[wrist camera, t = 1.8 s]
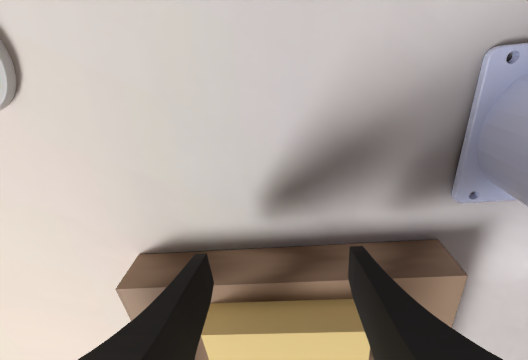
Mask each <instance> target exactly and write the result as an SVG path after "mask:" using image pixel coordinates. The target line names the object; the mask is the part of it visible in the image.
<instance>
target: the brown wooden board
mask: <svg viewBox="0 0 528 360" xmlns="http://www.w3.org/2000/svg"><path fill="white" fill-rule="evenodd" d="M350 246H363V247H364V248H365V249H366V250H367V251H368V253H369V254H370V255H371V256H372V257H373V258H374V260H375V261H376V262H377V263H378V264H379V265H380V266H381V267H382V268H383V270H384V271H385V272H386V273H387V274H388V275H389V276H390V277H391V278H392V279H393V280H394V281H395V282H396V283H397V284H398V285H399V286H400V287H401V288H402V289H403V290H405V291H406V292H407V293H408V294H409V295H410V296H411V297H412V298H413V299H414V300H416V301H417V302H418V303H419V304H420V305H422V306H423V307H424V308H425V309H426V310H428V311H429V312H430V313H432V314H433V315H434V316H435V317H437V318H438V319H440V320H441V321H442V322H444V323H445V324H447V325H448V326H450V327H452V324H453V321H454V318H455V315H456V312H457V309H458V305H459V302H460V299H461V296H462V293H463V290H464V287H465V283H466V280H467V277H468V275H467V274H466V273H465V271H464V270H463V269H462V268H461V267H460V265H459V264H458V263H457V262H456V261H455V259H454V258H453V257H452V256H451V255H450V253H449V252H448V251H447V250H446V249H445V247H444V246H443V245H442V244H441V243H440V241H439V240H438V239H436V240H416V241H396V242H376V243H357V244H337V245H317V246H298V247H278V248H258V249H238V250H219V251H199V252H179V253H160V254H140V255H138V257H137V258H136V260H135V261H134V263H133V264H132V266H131V267H130V269H129V270H128V272H127V273H126V274H125V276H124V277H123V279H122V280H121V282H120V283H119V285H118V286H117V288H116V291H117V293H118V295H119V297H120V299H121V301H122V303H123V305H124V307H125V309H126V311H127V313H128V315H129V317H130V319H131V321H132V320H133V319H134V318H136V317H137V316H138V315H139V314H140V313H141V312H142V311H143V310H145V309H146V308H147V307H148V306H149V305H150V304H151V303H152V302H153V301H154V300H155V299H156V298H157V297H158V296H159V295H160V294H161V293H162V292H163V290H164V289H165V288H166V287H167V286H168V285H169V284H170V283H171V282H172V281H173V279H174V278H175V277H176V276H177V275H178V274H179V272H180V271H181V270H182V269H183V268H184V267H185V265H186V264H187V263H188V262H189V261H190V259H191V258H192V257H193V256H194V255H195V254H204V253H207V256H208V260H209V264H210V268H211V272H212V276H213V280H214V286H213V293H212V298H211V303H239V302H270V301H300V300H331V299H353V297H352V292H351V288H350V284H349V279H348V267H349V247H350ZM195 360H209V358H208V355H207V352H206V349H205V346H204V343H203V340H202V337H200V341H199V344H198V347H197V351H196V355H195ZM369 360H374V358H373V355H372V351H371V348H370V353H369Z"/></svg>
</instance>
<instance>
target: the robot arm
mask: <svg viewBox="0 0 528 360" xmlns="http://www.w3.org/2000/svg"><path fill="white" fill-rule="evenodd" d="M510 52H512V58H511V60H510V61H508V62H507V61H506V58H507V56H508V54H509V53H510ZM474 191H475V192H474ZM472 192H474V193H473V194H472V195H470V193H472ZM469 195H470V196H469ZM451 196H452V198H453V199H454V200H455V201H456V202H458V203H473V202H489V201H506V200H519V201H520V202H522V203H523V204H525V205H526V206H528V43H520V44H511V45H502V46H496V47H493V48H492V49H490V50H489V51H488V52H487V53H486V54H485V56H484V59H483V62H482V66H481V71H480V75H479V79H478V83H477V88H476V92H475V96H474V100H473V104H472V109H471V113H470V117H469V121H468V126H467V130H466V134H465V138H464V143H463V147H462V151H461V155H460V160H459V164H458V168H457V172H456V176H455V181H454V185H453V189H452V193H451ZM348 279H349V284H350V288H351V292H352V297H353V300H354V303H355V305H356V308H357V311H358V314H359V317H360V320H361V322H362V325H363V328H364V331H365V334H366V336H367V339H368V342H369V345H370V348H371V351H372V355H373V358H374V360H503V359H501V358H499V357H497V356H496V355H494V354H492V353H490V352H488V351H487V350H485V349H483V348H482V347H480V346H478V345H477V344H475V343H474V342H472V341H470V340H469V339H467V338H466V337H464V336H463V335H461V334H460V333H458V332H457V331H455V330H454V329H452V328H451V327H450V326H448V325H447V324H445V323H444V322H442V321H441V320H440V319H438V318H437V317H435V316H434V315H433V314H432V313H430V312H429V311H428V310H426V309H425V308H424V307H423V306H422V305H420V304H419V303H418V302H417V301H416V300H414V299H413V298H412V297H411V296H410V295H409V294H408V293H407V292H406V291H405V290H403V289H402V288H401V287H400V286H399V285H398V284H397V283H396V282H395V281H394V280H393V279H392V278H391V277H390V276H389V275H388V274H387V273H386V272H385V271H384V270H383V268H382V267H381V266H380V265H379V264H378V263H377V262H376V261H375V260H374V258H373V257H372V256H371V255H370V254H369V253H368V251H367V250H366V249H365V248H364V247H363V246H350V247H349V267H348ZM213 286H214V280H213V276H212V272H211V268H210V264H209V260H208V256H207V253H204V254H195V255H194V256H193V257H192V258H191V259H190V261H189V262H188V263H187V264H186V265H185V267H184V268H183V269H182V270H181V271H180V272H179V274H178V275H177V276H176V277H175V278H174V279H173V281H172V282H171V283H170V284H169V285H168V286H167V287H166V288H165V289H164V290H163V292H162V293H161V294H160V295H159V296H158V297H157V298H156V299H155V300H154V301H153V302H152V303H151V304H150V305H149V306H148V307H147V308H146V309H145V310H143V311H142V312H141V313H140V314H139V315H138V316H137V317H136V318H134V319H133V320H132V321H131V322H130V323H128V324H127V325H126V326H125V327H123V328H122V329H121V330H120V331H118V332H117V333H116V334H114V335H113V336H112V337H110V338H109V339H108V340H106V341H105V342H104V343H102V344H101V345H99V346H98V347H96V348H95V349H93V350H92V351H91V352H89V353H88V354H86V355H84V356H83V357H81V358H80V359H78V360H195V355H196V351H197V347H198V344H199V341H200V337H201V334H202V330H203V327H204V324H205V320H206V317H207V314H208V310H209V307H210V303H211V298H212V293H213Z"/></svg>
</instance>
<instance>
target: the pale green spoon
mask: <svg viewBox="0 0 528 360" xmlns="http://www.w3.org/2000/svg"><path fill="white" fill-rule="evenodd" d="M15 91H16V73H15V69H14V65H13V62H12V60H11V57H10V55H9V53H8V51H7V49H6V48H5V46H4V44H3V43H2V41H1V40H0V110H2V109H3V108H5V107H6V106H8V105H9V104H10V102H11V101H12V99H13V97H14V95H15Z"/></svg>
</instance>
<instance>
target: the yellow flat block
mask: <svg viewBox="0 0 528 360" xmlns="http://www.w3.org/2000/svg"><path fill="white" fill-rule="evenodd" d="M201 337H202V340H203V343H204V346H205V349H206V352H207V355H208V358H209V360H369V353H370V345H369V342H368V339H367V336H366V334H365V331H364V328H363V325H362V322H361V320H360V317H359V314H358V311H357V308H356V305H355V303H354V300H353V299H331V300H300V301H270V302H239V303H210V307H209V310H208V314H207V317H206V320H205V324H204V327H203V330H202V334H201Z"/></svg>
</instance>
